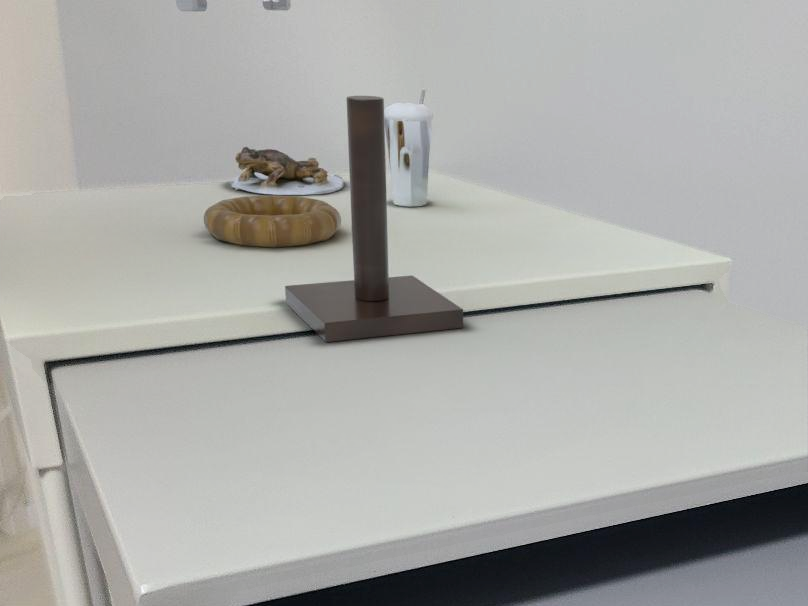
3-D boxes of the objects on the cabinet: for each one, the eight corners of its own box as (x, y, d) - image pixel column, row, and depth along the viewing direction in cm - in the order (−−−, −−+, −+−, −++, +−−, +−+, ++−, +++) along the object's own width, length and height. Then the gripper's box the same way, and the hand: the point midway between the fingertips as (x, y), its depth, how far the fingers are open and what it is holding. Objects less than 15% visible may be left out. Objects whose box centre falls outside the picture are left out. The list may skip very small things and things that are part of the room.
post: (325, 342, 64) (312, 107, 58) (285, 303, 71) (270, 89, 65) (463, 327, 68) (464, 105, 62) (412, 292, 75) (409, 89, 69)
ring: (222, 253, 83) (219, 222, 82) (195, 225, 91) (191, 196, 90) (357, 244, 87) (355, 214, 86) (318, 218, 96) (317, 190, 95)
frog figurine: (267, 200, 102) (263, 158, 100) (207, 180, 110) (203, 141, 108) (367, 189, 109) (366, 150, 107) (304, 172, 117) (302, 134, 115)
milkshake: (446, 201, 105) (445, 91, 100) (418, 210, 101) (416, 95, 96) (406, 196, 107) (404, 87, 102) (376, 204, 102) (373, 91, 98)
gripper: (281, -178, 89) (294, 8, 95) (76, -216, 73) (107, 9, 80) (341, -180, 86) (349, 11, 93) (141, -220, 70) (168, 14, 77)
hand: (236, 10), depth 86 cm, fingers open, 8 cm apart
